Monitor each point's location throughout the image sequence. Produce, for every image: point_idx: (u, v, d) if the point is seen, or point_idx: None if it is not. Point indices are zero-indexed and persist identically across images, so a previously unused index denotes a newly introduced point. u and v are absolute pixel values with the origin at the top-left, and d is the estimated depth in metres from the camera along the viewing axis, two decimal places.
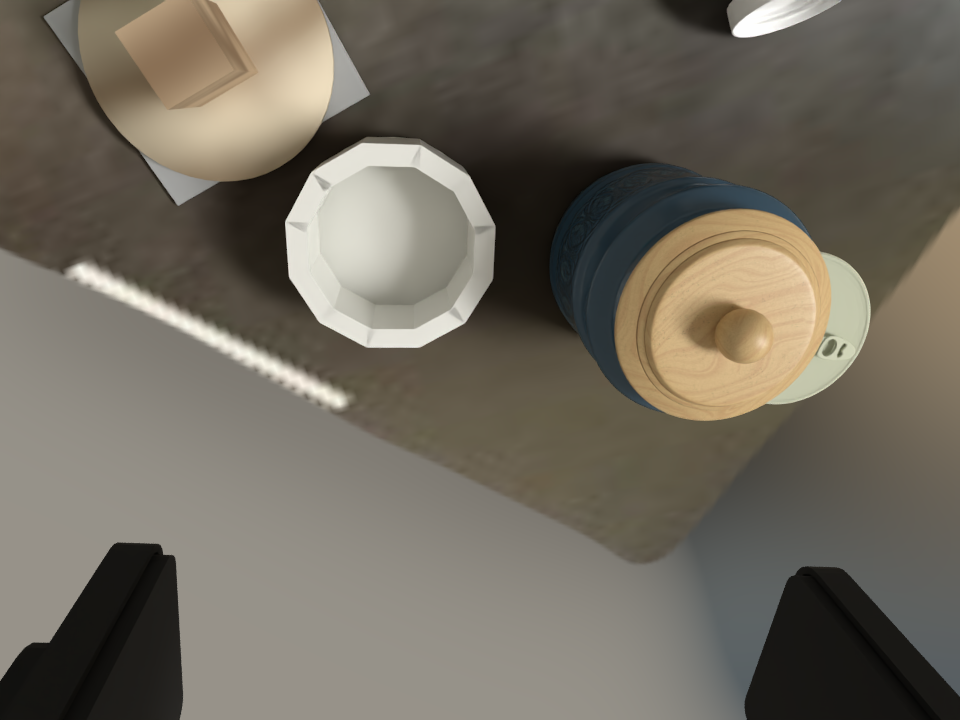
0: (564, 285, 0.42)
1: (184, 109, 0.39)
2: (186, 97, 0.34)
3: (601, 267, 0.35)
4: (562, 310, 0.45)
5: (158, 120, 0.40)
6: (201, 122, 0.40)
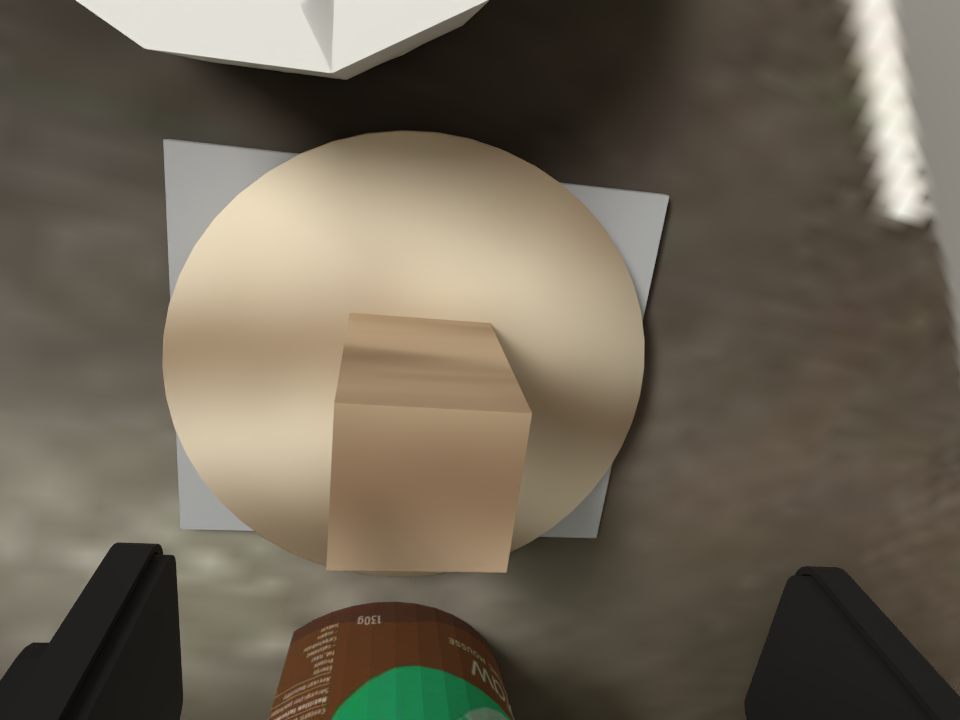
0: None
1: (519, 335, 0.20)
2: (475, 412, 0.14)
3: None
4: None
5: (573, 345, 0.20)
6: (510, 300, 0.19)
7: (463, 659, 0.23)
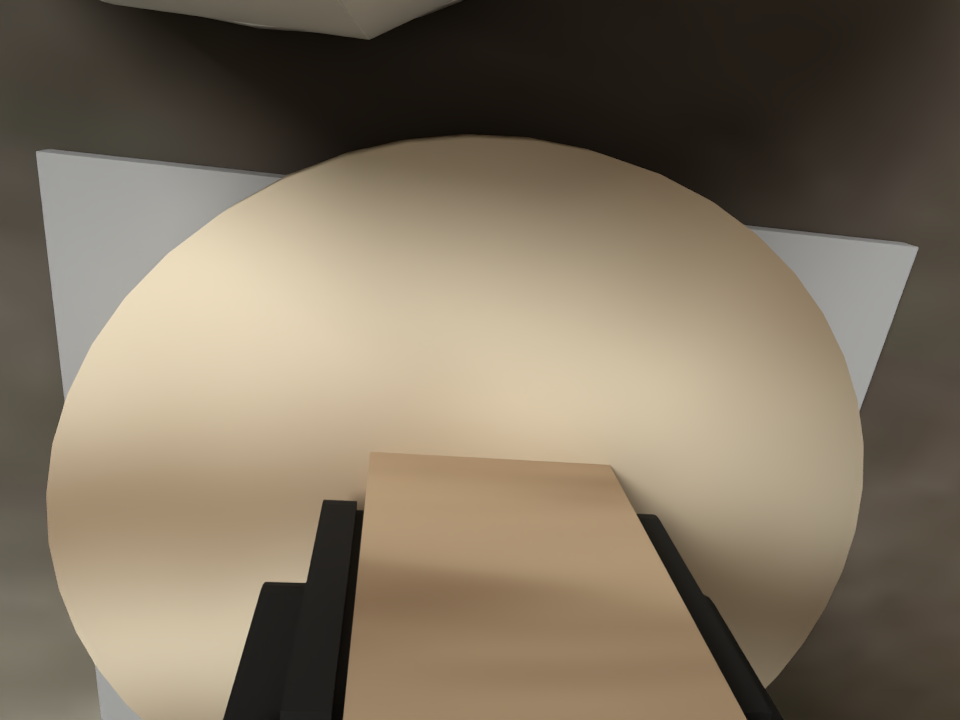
0: None
1: (657, 484, 0.12)
2: None
3: None
4: None
5: (745, 498, 0.12)
6: (646, 428, 0.11)
7: None
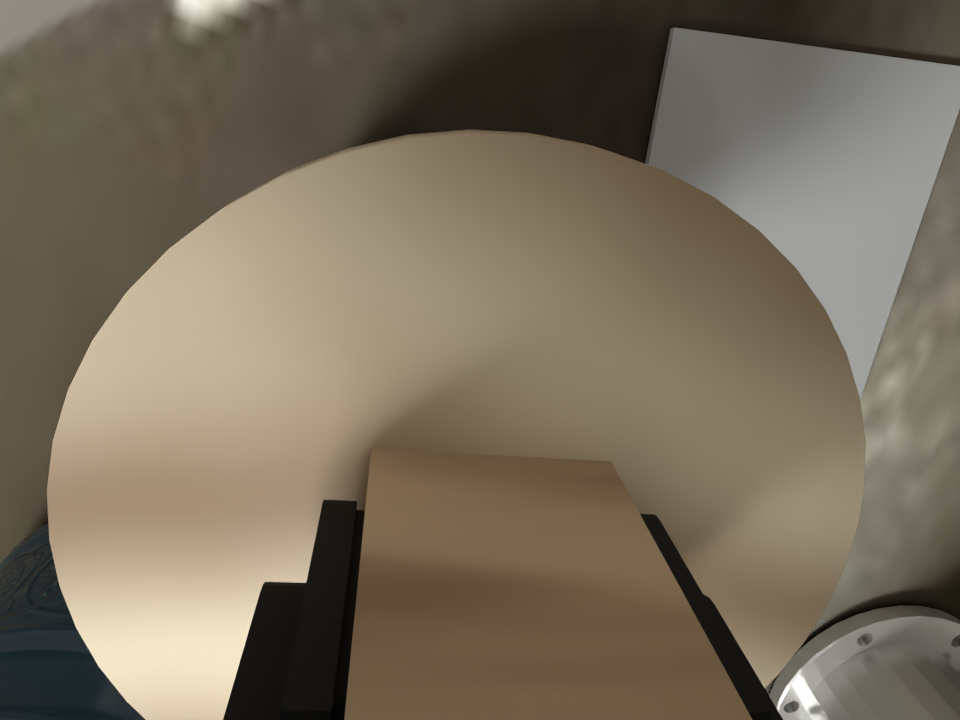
0: None
1: (659, 480, 0.12)
2: None
3: None
4: None
5: (746, 495, 0.12)
6: (648, 425, 0.11)
7: None
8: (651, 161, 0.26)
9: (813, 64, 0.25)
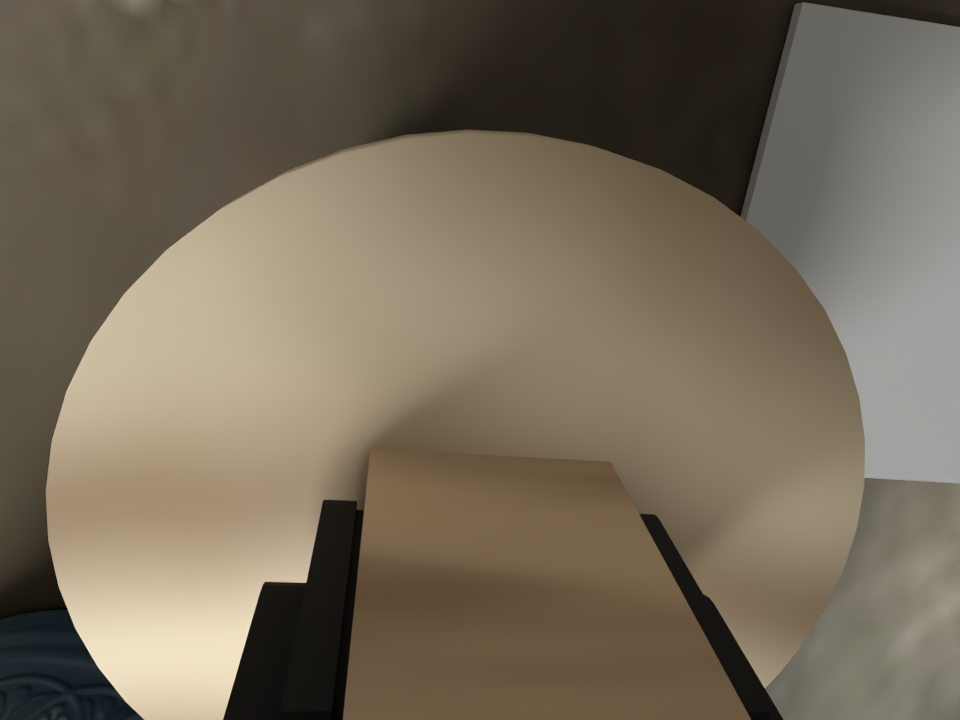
0: None
1: (658, 481, 0.12)
2: None
3: None
4: (39, 660, 0.20)
5: (746, 495, 0.12)
6: (647, 425, 0.11)
7: None
8: (759, 183, 0.19)
9: None
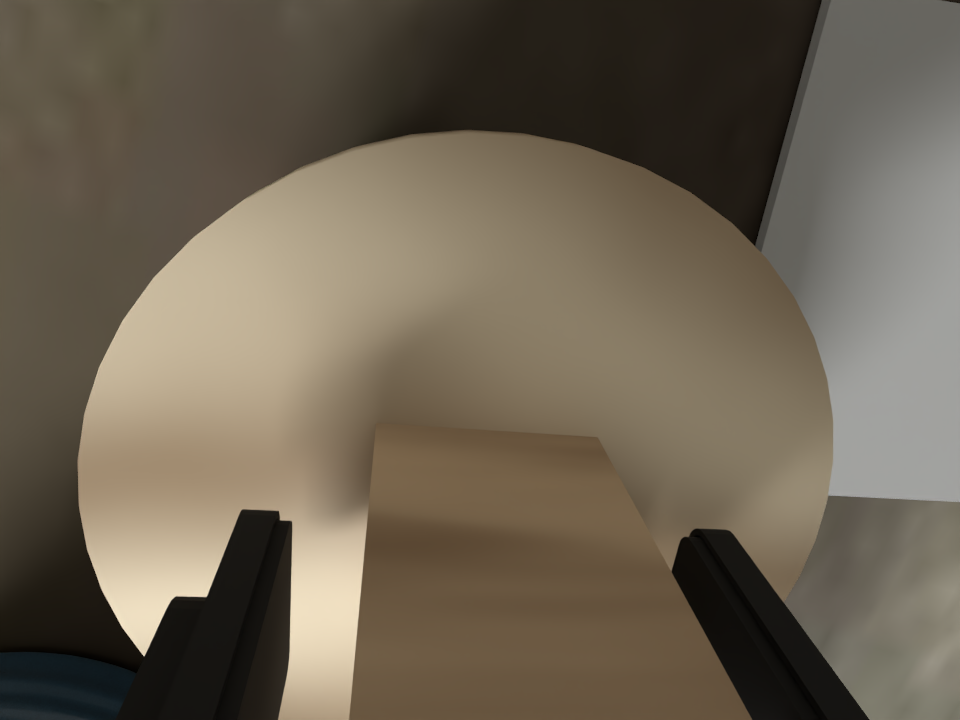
0: None
1: (642, 455, 0.12)
2: None
3: None
4: None
5: (723, 469, 0.13)
6: (631, 403, 0.12)
7: None
8: (784, 183, 0.18)
9: None
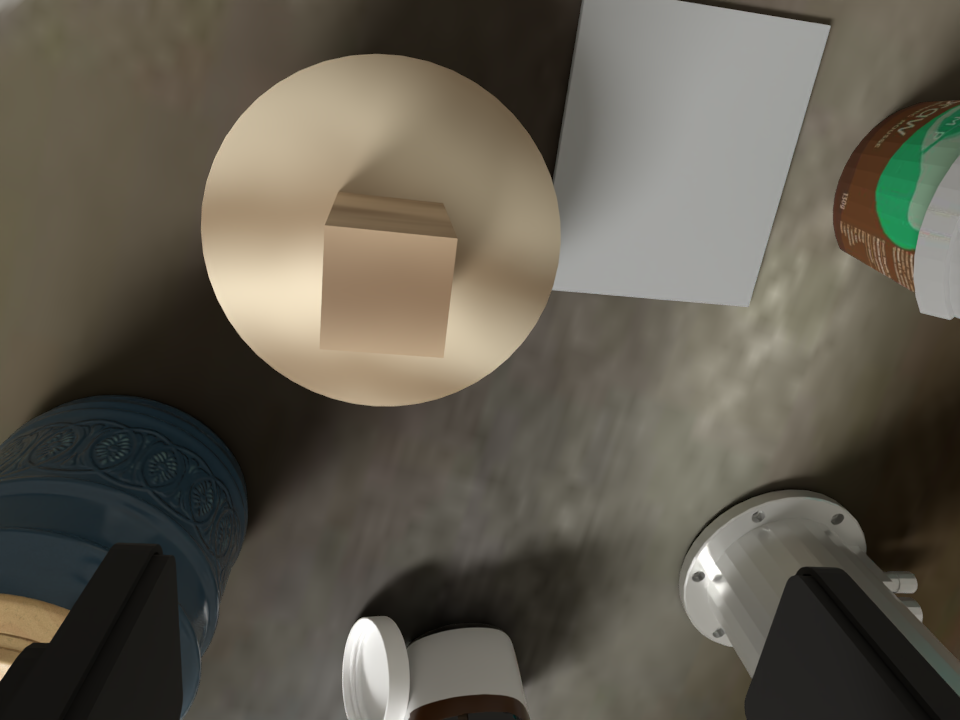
0: (144, 458, 0.31)
1: (465, 213, 0.26)
2: (419, 236, 0.20)
3: None
4: (107, 413, 0.32)
5: (506, 223, 0.27)
6: (458, 185, 0.26)
7: (892, 139, 0.32)
8: (570, 97, 0.31)
9: (700, 19, 0.31)
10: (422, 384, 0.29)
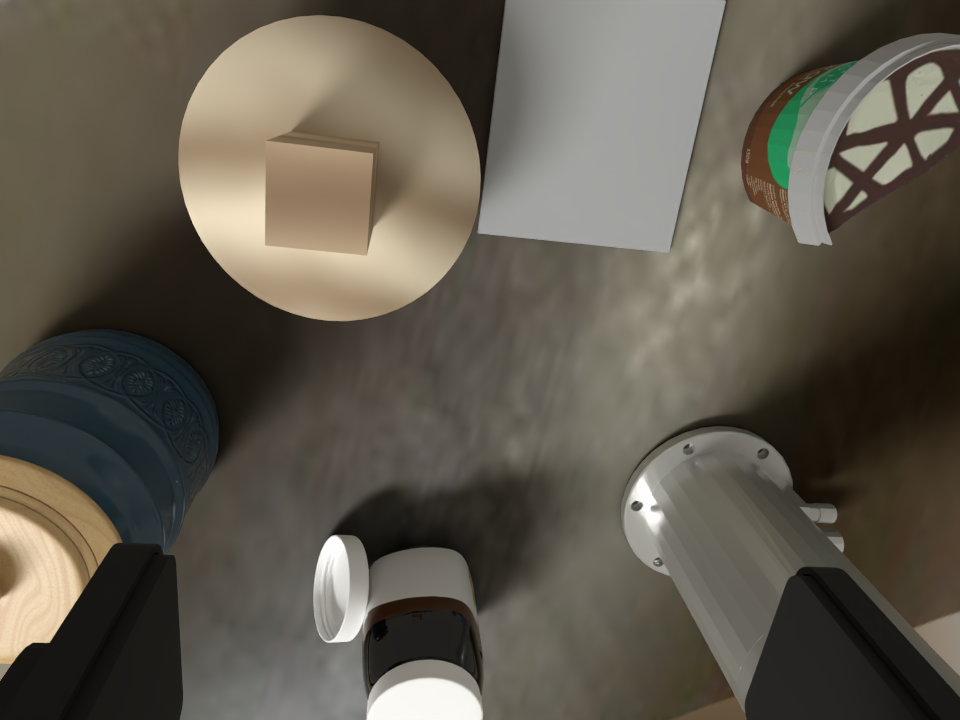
0: (125, 374, 0.36)
1: (398, 151, 0.32)
2: (342, 150, 0.26)
3: (125, 467, 0.31)
4: (96, 340, 0.38)
5: (433, 160, 0.32)
6: (391, 127, 0.31)
7: (782, 98, 0.37)
8: (500, 63, 0.37)
9: None
10: (367, 301, 0.34)
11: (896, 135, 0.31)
